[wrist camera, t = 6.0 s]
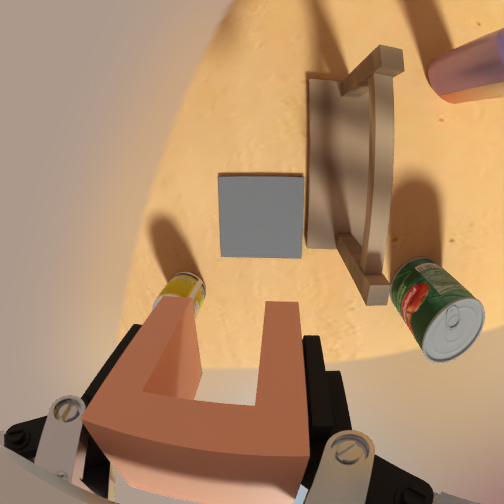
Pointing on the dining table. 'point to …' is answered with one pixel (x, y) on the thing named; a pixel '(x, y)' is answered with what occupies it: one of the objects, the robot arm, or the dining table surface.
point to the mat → (261, 216)
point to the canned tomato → (436, 309)
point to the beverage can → (470, 70)
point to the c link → (204, 414)
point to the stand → (354, 168)
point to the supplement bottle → (185, 289)
